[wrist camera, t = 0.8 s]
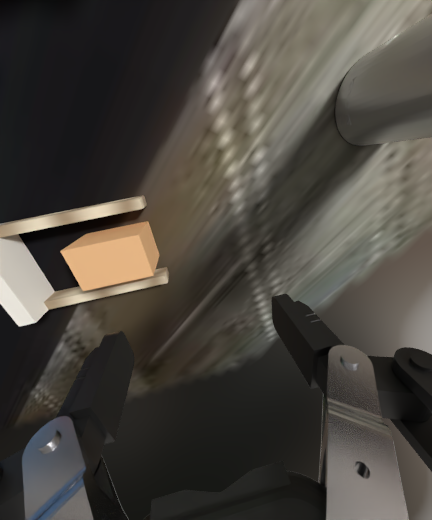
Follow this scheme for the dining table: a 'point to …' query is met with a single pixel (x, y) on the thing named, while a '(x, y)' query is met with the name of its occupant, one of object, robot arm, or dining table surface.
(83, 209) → the guide lane
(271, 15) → the dining table surface
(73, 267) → the block
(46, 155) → the dining table surface
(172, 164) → the dining table surface
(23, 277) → the stop block
